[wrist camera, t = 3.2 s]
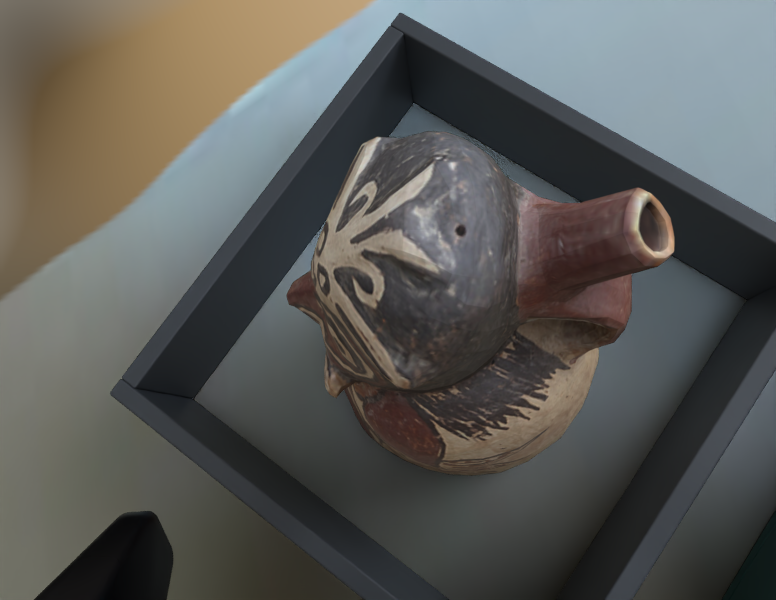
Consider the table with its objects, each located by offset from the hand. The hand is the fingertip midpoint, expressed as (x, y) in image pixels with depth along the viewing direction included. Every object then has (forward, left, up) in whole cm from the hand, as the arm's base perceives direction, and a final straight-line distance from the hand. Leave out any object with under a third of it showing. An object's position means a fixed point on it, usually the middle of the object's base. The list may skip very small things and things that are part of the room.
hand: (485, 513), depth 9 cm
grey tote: (+3, +2, -11) cm, 11 cm away
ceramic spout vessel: (+3, +2, -11) cm, 11 cm away
